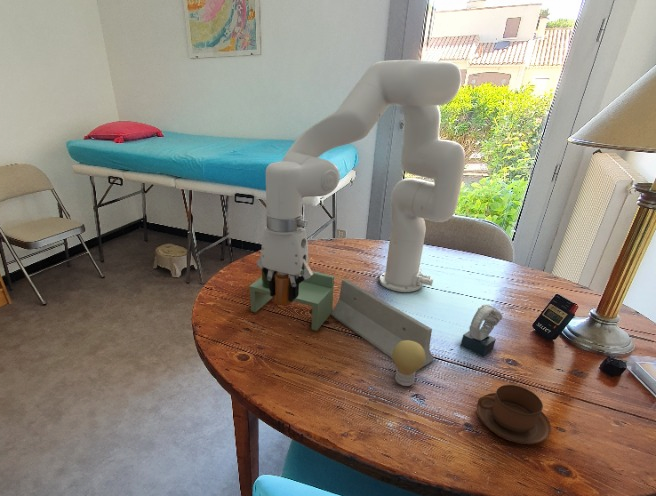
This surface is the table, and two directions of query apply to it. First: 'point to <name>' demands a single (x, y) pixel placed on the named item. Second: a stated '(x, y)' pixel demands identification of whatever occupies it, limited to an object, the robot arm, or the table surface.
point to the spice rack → (302, 296)
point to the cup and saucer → (514, 415)
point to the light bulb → (407, 361)
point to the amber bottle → (282, 288)
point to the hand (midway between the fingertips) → (283, 295)
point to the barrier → (379, 321)
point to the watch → (482, 331)
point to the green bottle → (265, 281)
